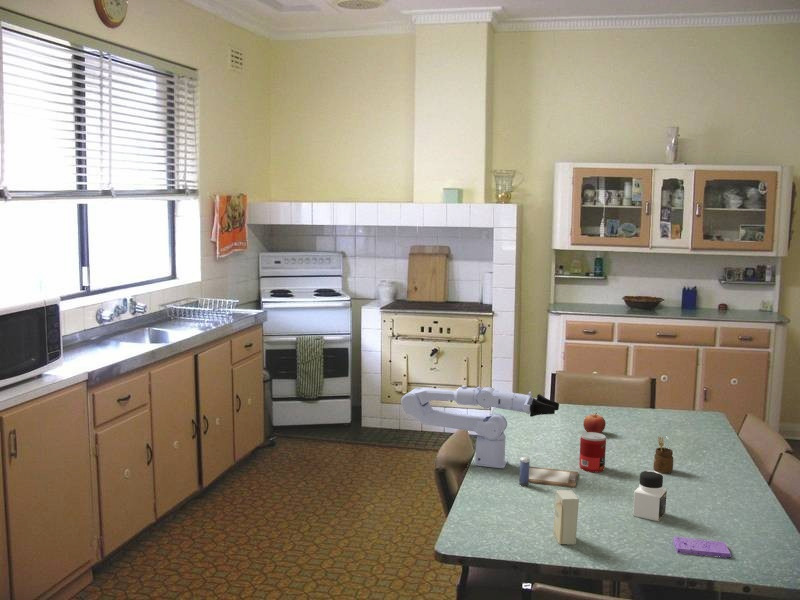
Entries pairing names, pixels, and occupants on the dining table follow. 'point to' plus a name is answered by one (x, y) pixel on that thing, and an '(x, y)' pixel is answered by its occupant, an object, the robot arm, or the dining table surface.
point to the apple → (594, 423)
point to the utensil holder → (663, 459)
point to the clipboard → (552, 476)
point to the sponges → (701, 547)
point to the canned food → (592, 451)
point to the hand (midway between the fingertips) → (556, 408)
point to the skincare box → (565, 517)
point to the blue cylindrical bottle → (524, 471)
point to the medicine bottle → (650, 496)
